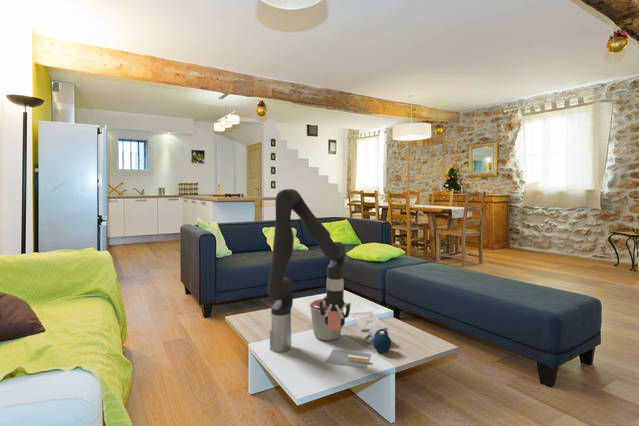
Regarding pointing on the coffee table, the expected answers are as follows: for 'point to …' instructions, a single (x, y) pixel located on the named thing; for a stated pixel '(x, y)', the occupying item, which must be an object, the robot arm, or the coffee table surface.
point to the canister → (322, 322)
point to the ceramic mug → (374, 333)
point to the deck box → (334, 320)
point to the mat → (349, 358)
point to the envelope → (367, 320)
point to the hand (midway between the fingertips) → (334, 325)
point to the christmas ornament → (382, 342)
